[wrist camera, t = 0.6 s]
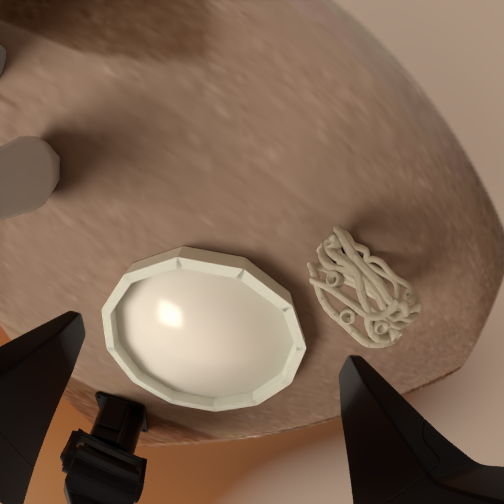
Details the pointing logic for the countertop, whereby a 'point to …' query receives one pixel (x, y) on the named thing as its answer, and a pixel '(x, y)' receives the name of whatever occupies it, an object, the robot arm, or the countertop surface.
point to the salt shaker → (26, 175)
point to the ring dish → (204, 329)
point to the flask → (2, 58)
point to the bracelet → (363, 291)
